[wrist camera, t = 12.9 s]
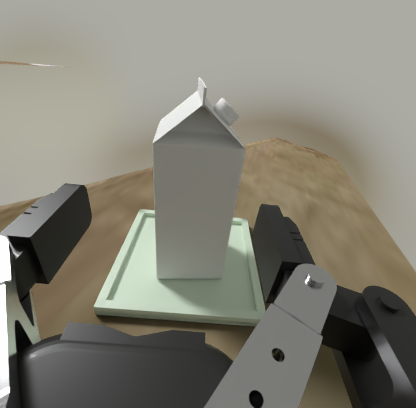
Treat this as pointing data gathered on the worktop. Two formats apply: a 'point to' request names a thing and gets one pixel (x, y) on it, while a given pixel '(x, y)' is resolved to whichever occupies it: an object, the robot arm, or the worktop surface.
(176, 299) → the tray
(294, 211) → the worktop surface
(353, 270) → the worktop surface
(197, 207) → the milk carton
